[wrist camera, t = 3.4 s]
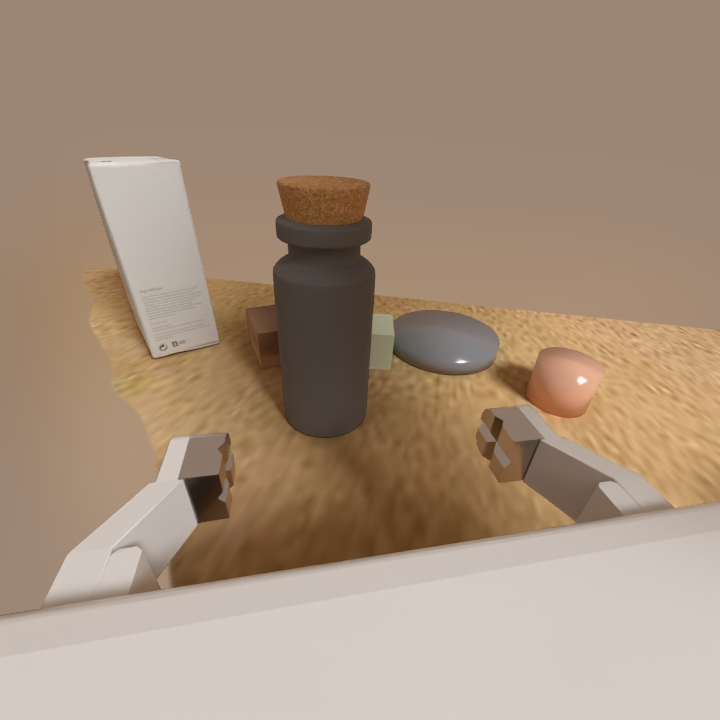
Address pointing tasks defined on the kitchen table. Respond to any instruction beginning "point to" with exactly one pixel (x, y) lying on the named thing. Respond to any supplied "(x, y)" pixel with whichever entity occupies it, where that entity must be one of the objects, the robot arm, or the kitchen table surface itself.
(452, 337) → the grey dome disc
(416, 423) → the kitchen table surface
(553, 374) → the peach rounded short part
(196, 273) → the skincare box
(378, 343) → the sage block
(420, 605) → the robot arm
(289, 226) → the bottle
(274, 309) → the walnut block
